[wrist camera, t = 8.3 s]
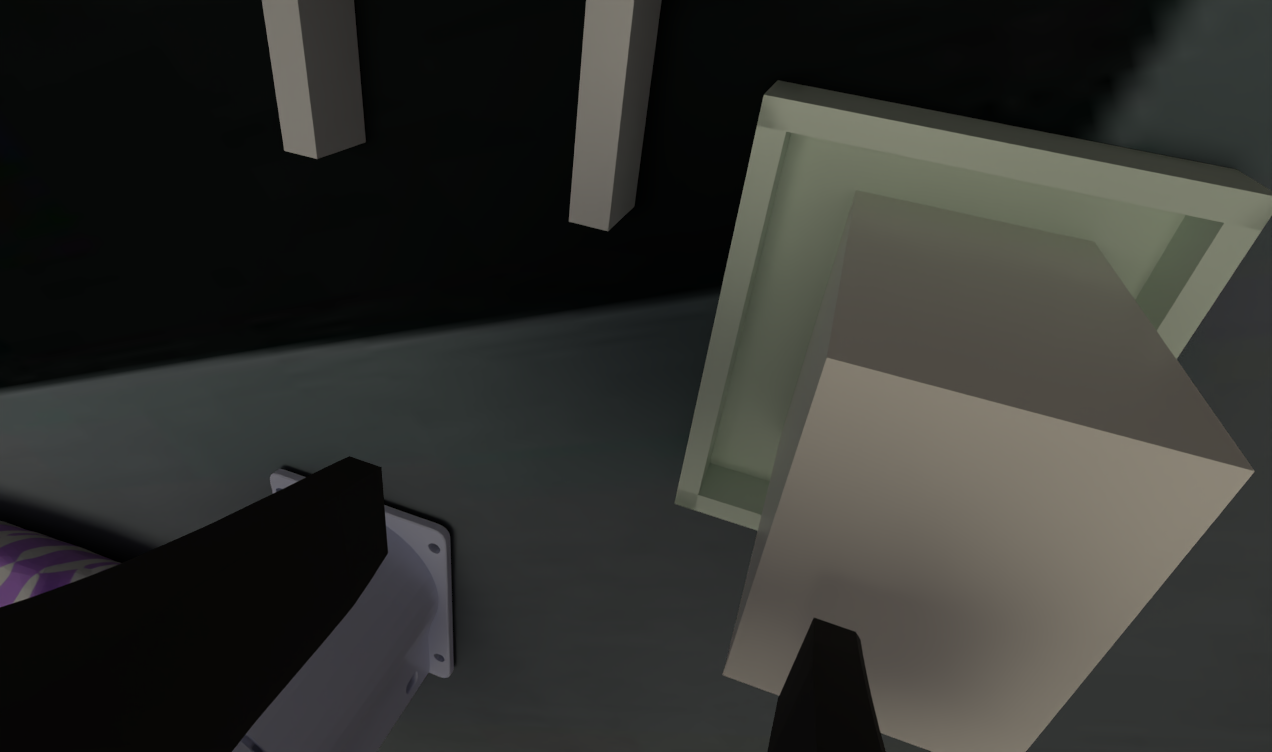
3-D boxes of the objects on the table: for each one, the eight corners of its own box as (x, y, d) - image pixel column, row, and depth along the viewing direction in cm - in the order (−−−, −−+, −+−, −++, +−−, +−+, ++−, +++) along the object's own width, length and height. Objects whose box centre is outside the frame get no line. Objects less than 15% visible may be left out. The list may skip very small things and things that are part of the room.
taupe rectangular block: (957, 504, 19) (990, 795, 12) (776, 450, 20) (716, 693, 13) (1094, 242, 15) (1254, 471, 8) (855, 189, 16) (826, 357, 9)
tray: (999, 558, 20) (1009, 611, 18) (691, 462, 22) (674, 503, 20) (1237, 169, 14) (1283, 197, 12) (777, 80, 15) (763, 94, 14)
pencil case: (-6, 579, 44) (-198, 711, 36) (-87, 462, 39) (-328, 586, 31) (276, 667, 38) (117, 849, 30) (220, 542, 33) (15, 719, 25)
